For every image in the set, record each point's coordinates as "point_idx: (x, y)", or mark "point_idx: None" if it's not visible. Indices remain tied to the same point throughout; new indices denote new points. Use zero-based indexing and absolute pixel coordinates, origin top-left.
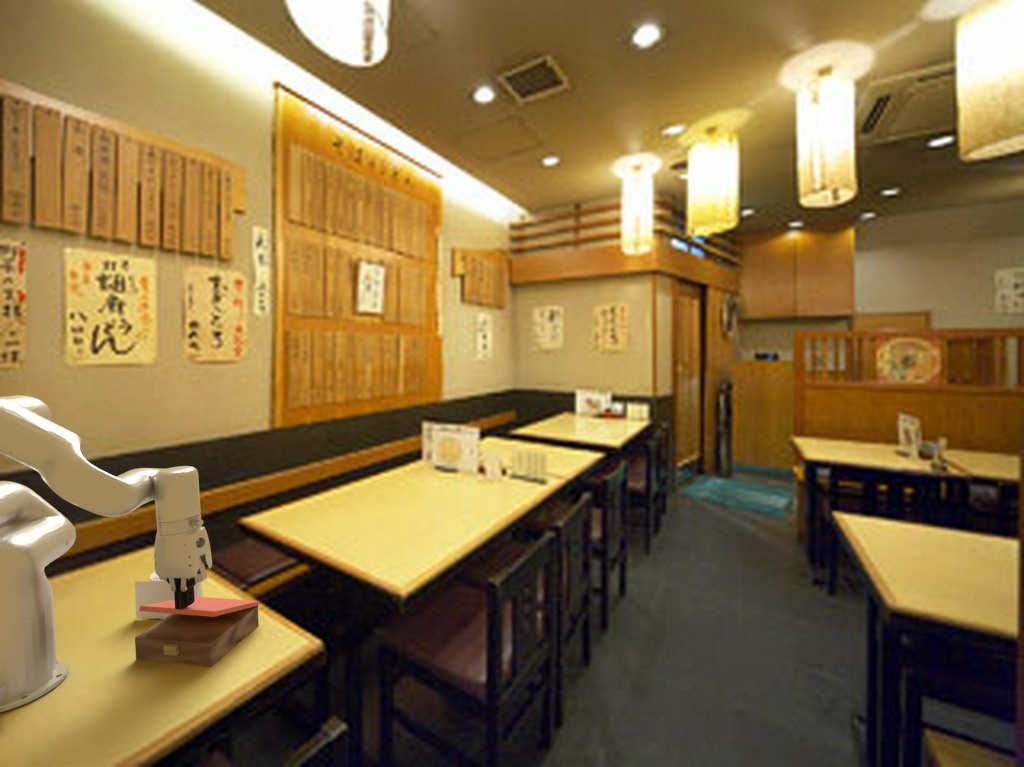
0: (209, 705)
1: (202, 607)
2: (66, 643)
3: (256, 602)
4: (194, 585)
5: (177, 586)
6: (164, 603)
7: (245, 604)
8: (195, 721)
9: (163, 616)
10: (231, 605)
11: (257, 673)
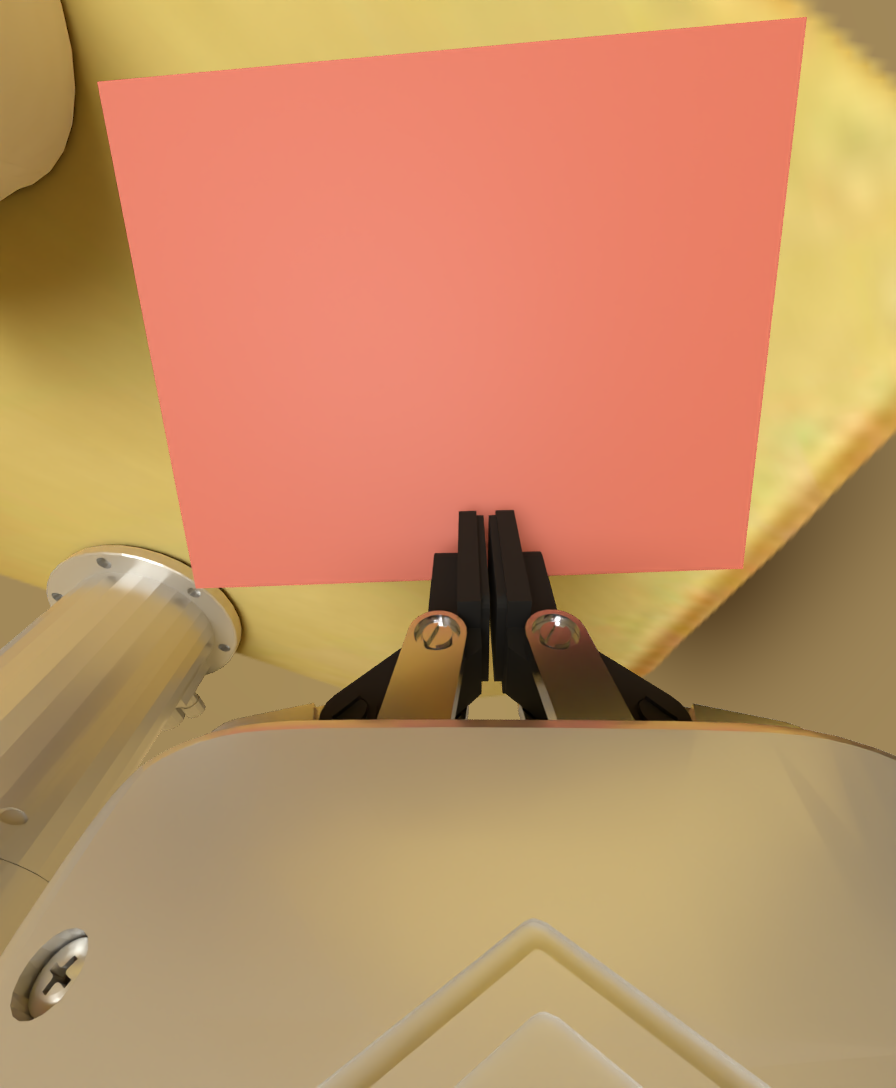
0: (710, 582)
1: (573, 489)
2: None
3: (796, 69)
4: (565, 621)
5: (465, 707)
6: (233, 467)
7: (779, 237)
8: (701, 618)
9: (20, 182)
10: (707, 335)
11: (814, 465)
